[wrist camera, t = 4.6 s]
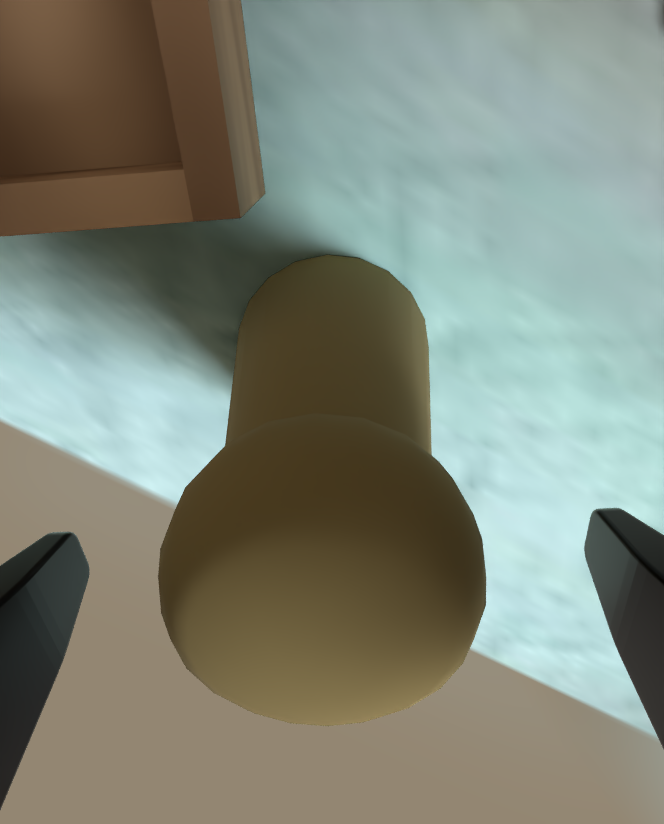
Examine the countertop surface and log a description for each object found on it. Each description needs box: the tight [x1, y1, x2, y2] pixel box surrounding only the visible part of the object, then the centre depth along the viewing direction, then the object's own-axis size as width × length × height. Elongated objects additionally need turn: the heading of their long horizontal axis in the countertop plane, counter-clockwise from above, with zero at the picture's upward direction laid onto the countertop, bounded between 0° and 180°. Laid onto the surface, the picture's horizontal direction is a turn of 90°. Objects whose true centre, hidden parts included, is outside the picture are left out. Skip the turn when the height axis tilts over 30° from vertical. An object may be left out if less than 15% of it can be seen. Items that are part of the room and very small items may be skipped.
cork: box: [158, 255, 486, 726], centre depth 12 cm, size 6×6×11 cm
